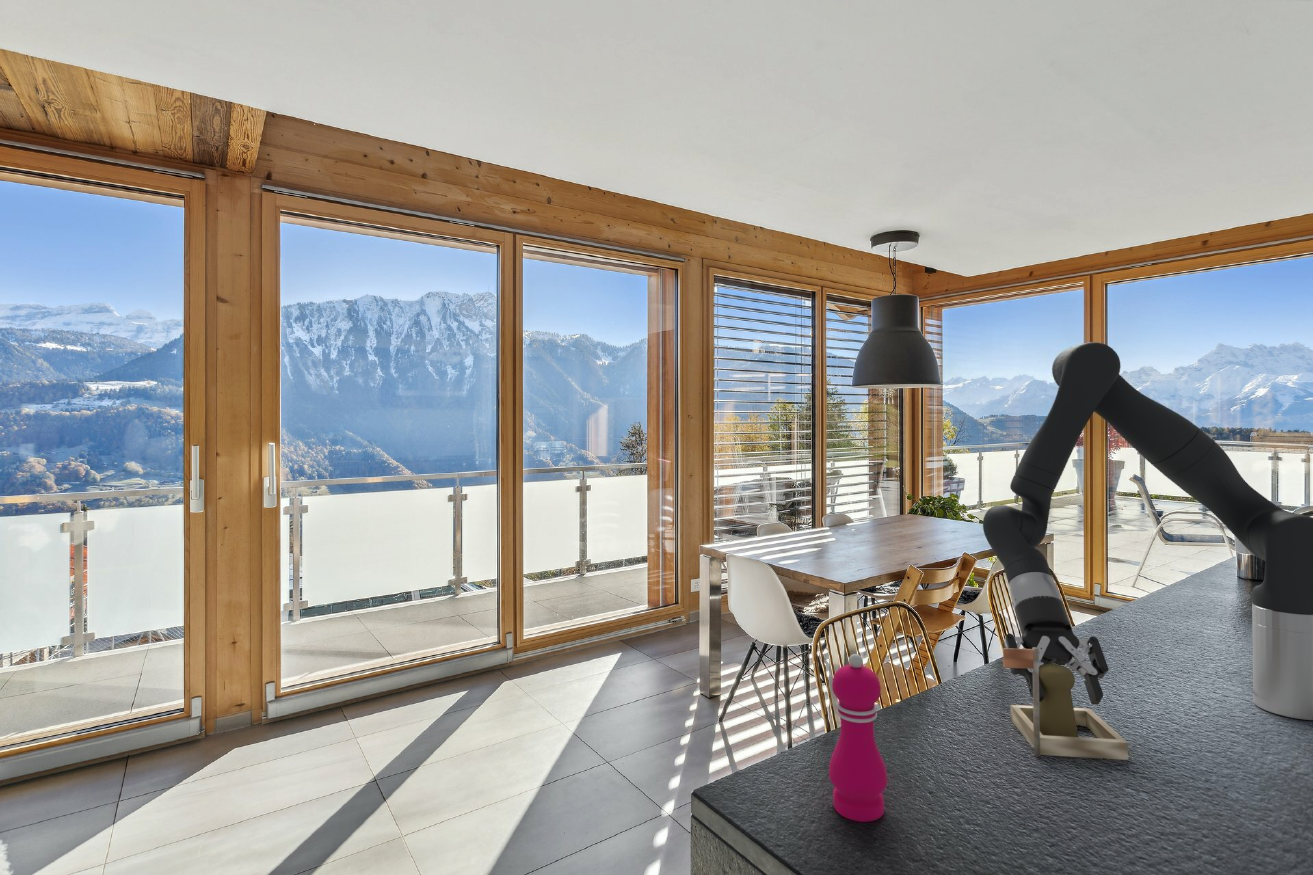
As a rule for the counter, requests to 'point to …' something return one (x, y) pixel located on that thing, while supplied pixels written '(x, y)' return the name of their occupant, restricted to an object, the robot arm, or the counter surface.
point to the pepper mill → (857, 745)
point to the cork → (1057, 701)
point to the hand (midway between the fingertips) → (1068, 700)
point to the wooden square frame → (1101, 747)
